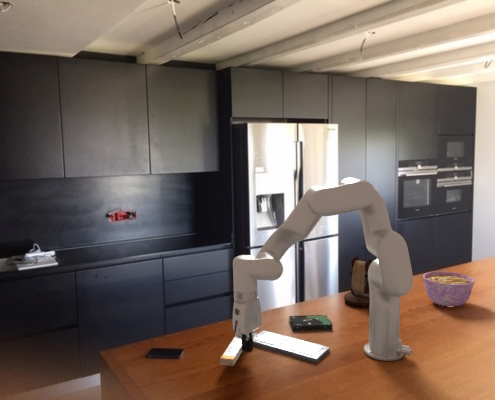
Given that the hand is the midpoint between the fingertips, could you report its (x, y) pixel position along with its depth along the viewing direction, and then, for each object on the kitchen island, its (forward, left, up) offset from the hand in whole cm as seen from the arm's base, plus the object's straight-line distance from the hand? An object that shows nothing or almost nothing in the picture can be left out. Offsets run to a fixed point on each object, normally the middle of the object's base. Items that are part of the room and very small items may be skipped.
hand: (247, 350), depth 149 cm
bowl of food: (-41, -89, -4) cm, 99 cm away
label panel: (-3, -15, -3) cm, 16 cm away
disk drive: (-3, -37, -4) cm, 37 cm away
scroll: (-10, -71, -4) cm, 72 cm away
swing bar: (+5, -3, -2) cm, 7 cm away
